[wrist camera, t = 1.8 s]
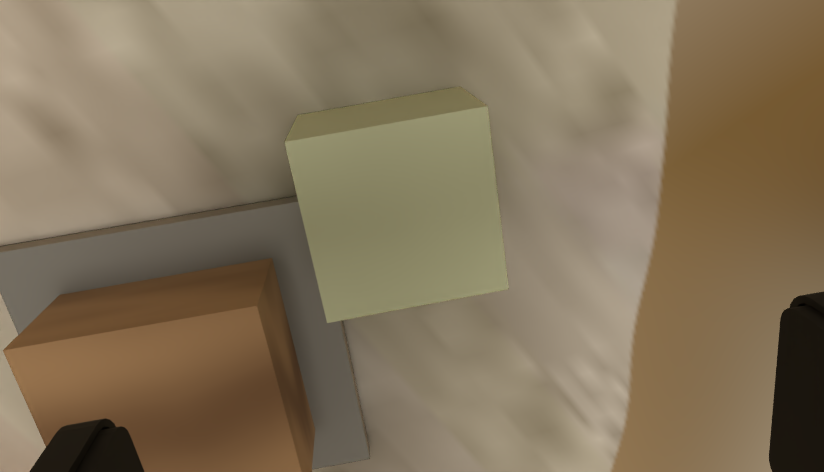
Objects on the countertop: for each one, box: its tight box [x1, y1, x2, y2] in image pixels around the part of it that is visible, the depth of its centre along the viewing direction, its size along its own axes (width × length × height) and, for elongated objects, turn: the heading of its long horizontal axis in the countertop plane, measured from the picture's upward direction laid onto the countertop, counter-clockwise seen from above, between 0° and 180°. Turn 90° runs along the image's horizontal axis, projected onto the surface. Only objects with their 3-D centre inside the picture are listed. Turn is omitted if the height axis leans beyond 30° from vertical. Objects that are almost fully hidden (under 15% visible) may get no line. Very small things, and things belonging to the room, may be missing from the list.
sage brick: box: [284, 87, 509, 323], centre depth 21 cm, size 6×6×5 cm
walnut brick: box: [3, 258, 315, 472], centre depth 23 cm, size 8×8×4 cm
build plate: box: [0, 196, 370, 469], centre depth 25 cm, size 12×12×1 cm
